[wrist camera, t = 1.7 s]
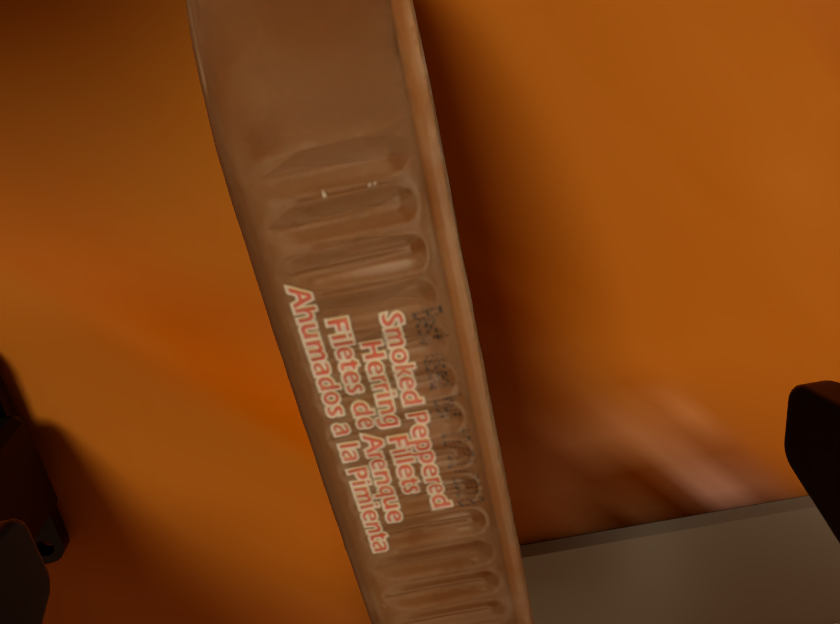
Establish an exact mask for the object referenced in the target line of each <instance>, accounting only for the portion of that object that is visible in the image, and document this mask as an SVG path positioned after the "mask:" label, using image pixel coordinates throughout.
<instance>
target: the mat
mask: <svg viewBox="0 0 840 624" xmlns="http://www.w3.org/2000/svg"><path fill="white" fill-rule="evenodd" d="M520 551H521V556H522V562H523V568H524V573H525V578H526V582H527V586H528V592H529V598H530V604H531V610H532V615H533V621H534V622H535V624H840V544H839V542H838V541H837V539H836V537H835V536H834V534H833V533H832V531H831V529H830V528H829V526H828V525H827V523H826V521H825V520H824V518H823V517H822V515H821V514H820V512H819V510H818V509H817V507H816V506H815V504H814V502H813V501H812V499H811V498H810V496H804V497H798V498H792V499H787V500H781V501H775V502H769V503H763V504H758V505H752V506H746V507H740V508H735V509H729V510H723V511H717V512H712V513H706V514H700V515H694V516H688V517H683V518H677V519H671V520H665V521H660V522H654V523H648V524H642V525H637V526H631V527H625V528H619V529H614V530H608V531H602V532H596V533H590V534H585V535H579V536H573V537H567V538H562V539H556V540H550V541H544V542H539V543H533V544H527V545H521V546H520Z"/></svg>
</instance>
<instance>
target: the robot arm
mask: <svg viewBox="0 0 840 624" xmlns="http://www.w3.org/2000/svg"><path fill="white" fill-rule="evenodd" d="M784 446H785V453H786V457H787V459H788V462H789V464H790V466H791V468H792V469H793V471H794V472H795V474H796V475H797V477H798V479H799V480H800V482H801V483H802V485H803V487H804V488H805V490H806V491H807V493H808V495H809V496H810V498H811V499H812V501H813V502H814V504H815V506H816V507H817V509H818V510H819V512H820V514H821V515H822V517H823V518H824V520H825V521H826V523H827V525H828V526H829V528H830V529H831V531H832V533H833V534H834V536H835V537H836V539H837V541H838V542H839V544H840V383H838V382H834V381H819V382H813V383H807V384H802V385H797V386H796V387H794V388H793V389H792V390H791V392H790V395H789V399H788V409H787V420H786V431H785V441H784ZM56 503H57V497H56V494H55V492H54V489H53V487H52V485H51V482H50V480H49V478H48V475H47V473H46V471H45V468H44V466H43V464H42V461H41V459H40V457H39V454H38V452H37V449H36V447H35V445H34V442H33V440H32V438H31V435H30V433H29V431H28V428H27V426H26V424H25V422H23V421H22V420H21V419H20V418H19V417H18V416H17V414H16V411H15V409H14V407H13V404H12V402H11V400H10V397H9V395H8V393H7V390H6V388H5V386H4V383H3V381H2V379H1V376H0V624H42V622H43V618H44V614H45V610H46V606H47V602H48V598H49V593H50V579H49V574H48V571H47V568H46V566H45V564H47V563H52V562H55V561H57V560H59V559H60V558H61V557H62V555H63V554H64V552H65V550H66V548H67V546H68V543H69V535H68V533H67V530H66V528H65V526H64V523H63V521H62V519H61V516H60V514H59V512H58V509H57V507H56ZM42 541H47V542H49V543H51V544H52V545H53V546H50V545H46V544H44V543H43V542H42Z"/></svg>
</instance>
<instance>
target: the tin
mask: <svg viewBox="0 0 840 624" xmlns="http://www.w3.org/2000/svg"><path fill="white" fill-rule="evenodd" d="M186 7H187V15H188V21H189V28H190V34H191V40H192V45H193V50H194V55H195V60H196V65H197V70H198V74H199V78H200V83H201V87H202V92H203V96H204V100H205V104H206V109H207V113H208V117H209V122H210V126H211V130H212V134H213V138H214V142H215V146H216V150H217V154H218V157H219V160H220V164H221V167H222V170H223V174H224V177H225V181H226V184H227V188H228V191H229V194H230V198H231V201H232V204H233V207H234V211H235V214H236V217H237V220H238V223H239V226H240V229H241V232H242V235H243V238H244V241H245V244H246V247H247V250H248V254H249V257H250V260H251V263H252V266H253V269H254V273H255V276H256V279H257V283H258V286H259V289H260V292H261V295H262V298H263V301H264V304H265V307H266V310H267V314H268V317H269V320H270V323H271V326H272V329H273V333H274V336H275V339H276V342H277V345H278V347H279V350H280V353H281V356H282V359H283V362H284V365H285V369H286V372H287V375H288V378H289V381H290V384H291V387H292V390H293V393H294V396H295V399H296V402H297V406H298V409H299V412H300V415H301V418H302V421H303V424H304V426H305V429H306V432H307V435H308V438H309V441H310V444H311V447H312V449H313V452H314V455H315V459H316V462H317V465H318V468H319V471H320V475H321V478H322V481H323V483H324V486H325V489H326V492H327V495H328V498H329V501H330V504H331V507H332V510H333V513H334V516H335V519H336V521H337V524H338V527H339V529H340V532H341V535H342V539H343V542H344V546H345V549H346V551H347V553H348V556H349V559H350V562H351V565H352V568H353V571H354V574H355V577H356V580H357V582H358V585H359V588H360V591H361V594H362V597H363V600H364V602H365V605H366V608H367V611H368V614H369V617H370V619H371V622H372V624H535V622H534V621H533V615H532V610H531V604H530V598H529V592H528V586H527V582H526V578H525V573H524V568H523V562H522V556H521V551H520V546H519V540H518V535H517V530H516V526H515V522H514V515H513V509H512V503H511V498H510V493H509V488H508V483H507V478H506V473H505V469H504V464H503V459H502V454H501V447H500V442H499V438H498V434H497V428H496V424H495V419H494V414H493V408H492V402H491V396H490V391H489V386H488V381H487V376H486V371H485V366H484V361H483V356H482V351H481V347H480V341H479V336H478V331H477V325H476V321H475V315H474V308H473V303H472V298H471V293H470V288H469V283H468V278H467V273H466V268H465V263H464V258H463V254H462V249H461V244H460V239H459V233H458V226H457V220H456V215H455V210H454V205H453V200H452V194H451V189H450V183H449V178H448V173H447V167H446V162H445V157H444V152H443V147H442V142H441V136H440V131H439V126H438V121H437V115H436V109H435V104H434V99H433V94H432V89H431V84H430V79H429V75H428V70H427V65H426V61H425V56H424V51H423V46H422V41H421V36H420V32H419V28H418V23H417V19H416V14H415V9H414V4H413V0H186Z"/></svg>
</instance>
